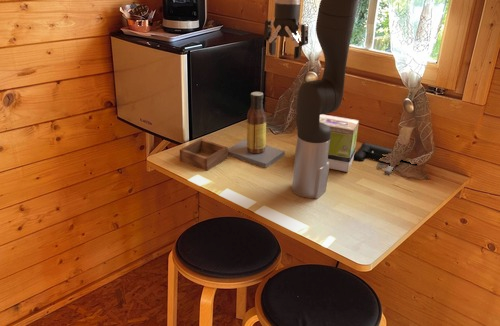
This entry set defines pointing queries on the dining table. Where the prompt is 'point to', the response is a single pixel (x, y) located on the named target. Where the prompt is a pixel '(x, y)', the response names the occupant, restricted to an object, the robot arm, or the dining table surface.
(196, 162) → the box
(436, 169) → the dining table surface
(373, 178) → the dining table surface
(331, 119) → the tea box
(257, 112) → the sauce bottle
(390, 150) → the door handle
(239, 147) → the slate board
